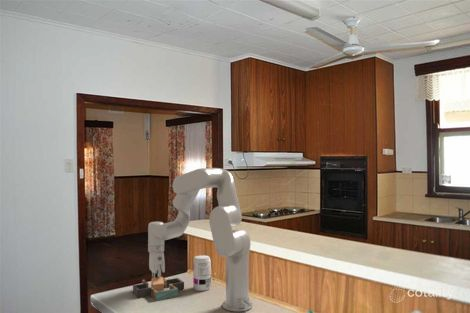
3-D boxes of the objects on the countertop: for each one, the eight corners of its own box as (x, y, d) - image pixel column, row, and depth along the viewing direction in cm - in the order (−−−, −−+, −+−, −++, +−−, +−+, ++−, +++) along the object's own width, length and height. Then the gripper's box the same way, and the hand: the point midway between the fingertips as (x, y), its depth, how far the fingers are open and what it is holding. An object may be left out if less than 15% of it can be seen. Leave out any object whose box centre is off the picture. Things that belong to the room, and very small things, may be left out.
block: (163, 292, 173) (164, 283, 171) (152, 293, 171) (153, 284, 170) (161, 285, 177) (162, 276, 176) (151, 287, 176) (151, 277, 174)
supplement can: (190, 290, 176) (190, 258, 176) (198, 285, 183) (198, 254, 184) (206, 292, 173) (206, 259, 173) (213, 286, 181) (213, 255, 181)
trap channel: (190, 294, 170) (190, 286, 170) (142, 303, 159) (142, 295, 159) (173, 282, 188) (173, 275, 188) (129, 289, 177) (129, 282, 177)
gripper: (169, 250, 174) (169, 290, 173) (158, 244, 187) (158, 281, 186) (153, 252, 170) (153, 292, 169) (143, 245, 183) (143, 283, 182)
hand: (156, 286), depth 178 cm, fingers closed
